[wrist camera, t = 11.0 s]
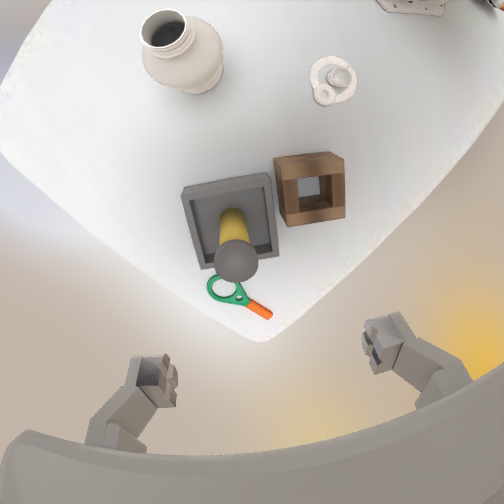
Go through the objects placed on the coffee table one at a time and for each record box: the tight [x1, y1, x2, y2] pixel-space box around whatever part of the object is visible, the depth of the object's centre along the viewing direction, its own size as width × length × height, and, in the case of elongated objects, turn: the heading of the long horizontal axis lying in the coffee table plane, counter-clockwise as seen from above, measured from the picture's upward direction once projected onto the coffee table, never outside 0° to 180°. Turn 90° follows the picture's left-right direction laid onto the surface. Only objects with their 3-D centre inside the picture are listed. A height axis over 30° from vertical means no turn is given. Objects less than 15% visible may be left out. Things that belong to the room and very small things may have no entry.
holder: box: [273, 152, 345, 227], centre depth 41 cm, size 9×9×6 cm
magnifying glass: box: [207, 274, 273, 320], centre depth 54 cm, size 15×6×2 cm, turn 49°
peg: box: [214, 208, 258, 283], centre depth 39 cm, size 5×5×14 cm
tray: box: [181, 172, 279, 270], centre depth 44 cm, size 13×13×4 cm
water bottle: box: [140, 9, 223, 94], centre depth 22 cm, size 7×7×25 cm
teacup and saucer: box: [310, 56, 357, 106], centre depth 34 cm, size 9×8×4 cm
